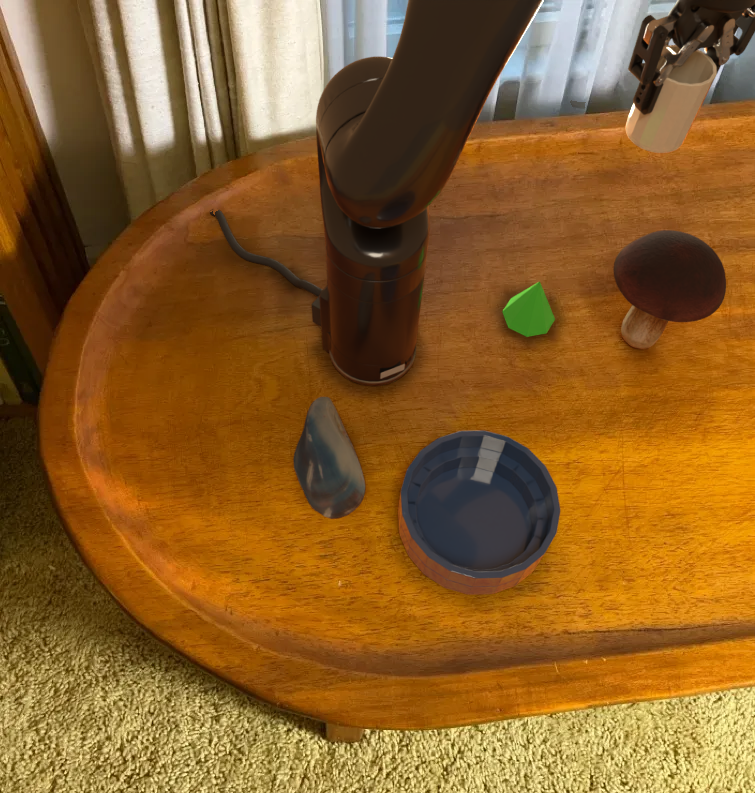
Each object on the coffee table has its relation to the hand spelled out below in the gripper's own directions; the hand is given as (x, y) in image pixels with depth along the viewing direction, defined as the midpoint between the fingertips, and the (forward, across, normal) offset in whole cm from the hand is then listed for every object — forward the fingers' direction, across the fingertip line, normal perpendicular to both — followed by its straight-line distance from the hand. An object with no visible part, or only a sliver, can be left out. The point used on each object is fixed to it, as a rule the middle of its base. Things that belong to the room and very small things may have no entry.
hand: (669, 99), depth 80 cm
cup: (+4, 0, 0) cm, 4 cm away
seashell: (+17, -47, -17) cm, 52 cm away
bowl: (+17, -37, -27) cm, 49 cm away
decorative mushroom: (+17, -10, -16) cm, 25 cm away
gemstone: (+17, -19, -9) cm, 27 cm away
